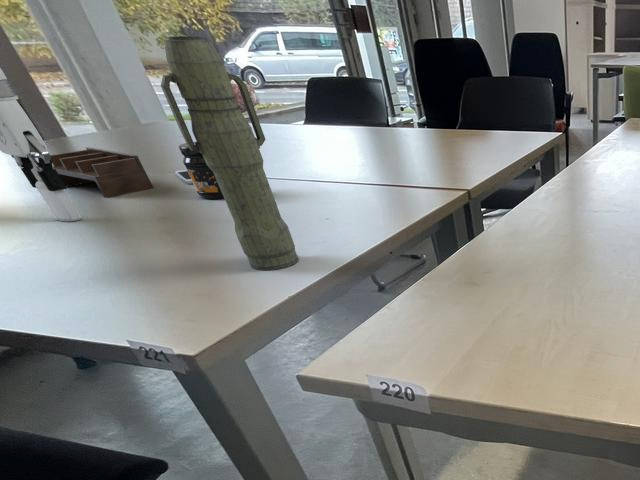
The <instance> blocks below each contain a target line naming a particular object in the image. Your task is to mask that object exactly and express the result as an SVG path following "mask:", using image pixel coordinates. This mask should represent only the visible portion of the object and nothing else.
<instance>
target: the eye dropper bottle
mask: <svg viewBox="0 0 640 480" xmlns="http://www.w3.org/2000/svg"><path fill="white" fill-rule="evenodd" d="M32 164H33V163H32ZM31 171H32V172H33V174H34V176H35V177H36V179H37V180H38V181H37V182H36V183H35V186H36V188H35V189H37V191H38V193H39V194H40V196H41V197H42V199H43V200H44V202H45V204H46V205H47V207H48V208H49V210H50V212H51V213H52V215H53V216H54V218H55V219H56V220H57V221H59V222H65V223H66V222H68V223H71V222H76V221H80V220H82V216H81V214H80V213H79V211H78V209H77V208H76V206H75V204H74V202H73V201H72V200H71V198H70V197H69V195H68V193H67V191H66V189H63V190H58V191H49V190H48V189H47V187H46V185H45V184H44V182H43V181H42V179H41V177H40V176H39V174H38V173H37V171H39V170H38V169H37V168H36V167H35V165H34V164H33V169H31Z"/></svg>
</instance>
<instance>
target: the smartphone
mask: <svg viewBox="0 0 640 480" xmlns="http://www.w3.org/2000/svg"><path fill="white" fill-rule="evenodd" d="M174 172H175V175H177V177H179V178H180V179H181V180H182V181H183V182H185V183H186V184H188V185H190V184H193V182H192V179H191V177H190V175H189V173H188V171H187V169H184V170H183V169H182V170H175V171H174Z"/></svg>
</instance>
